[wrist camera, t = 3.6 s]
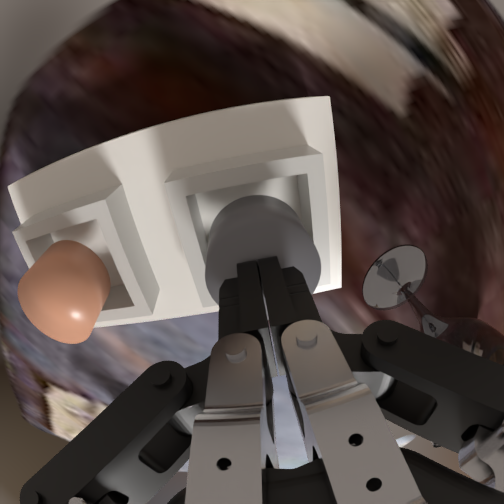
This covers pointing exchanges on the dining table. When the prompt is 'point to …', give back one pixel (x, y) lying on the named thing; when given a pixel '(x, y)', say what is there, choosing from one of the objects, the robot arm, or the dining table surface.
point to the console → (183, 200)
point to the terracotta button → (65, 291)
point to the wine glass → (404, 289)
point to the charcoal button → (258, 241)
